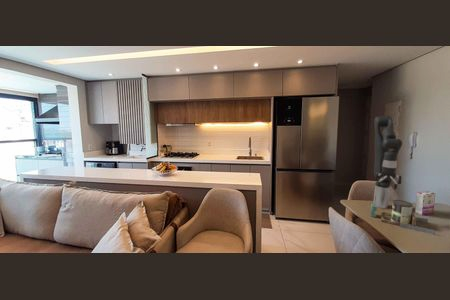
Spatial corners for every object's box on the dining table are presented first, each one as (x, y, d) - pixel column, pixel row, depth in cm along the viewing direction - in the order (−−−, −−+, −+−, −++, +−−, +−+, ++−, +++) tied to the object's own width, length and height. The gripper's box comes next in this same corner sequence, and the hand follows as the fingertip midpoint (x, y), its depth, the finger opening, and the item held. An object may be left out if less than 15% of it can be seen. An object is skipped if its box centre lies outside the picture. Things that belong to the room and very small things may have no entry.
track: (399, 226, 127) (400, 223, 127) (396, 216, 141) (396, 212, 141) (434, 234, 117) (435, 231, 117) (427, 222, 132) (427, 218, 132)
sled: (370, 219, 137) (371, 208, 136) (370, 211, 149) (371, 201, 148) (415, 228, 124) (416, 217, 123) (410, 219, 136) (411, 208, 135)
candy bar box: (425, 210, 149) (428, 190, 147) (433, 213, 144) (436, 193, 142) (414, 212, 147) (416, 192, 144) (422, 215, 142) (424, 194, 140)
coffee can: (390, 221, 134) (392, 202, 132) (391, 216, 141) (393, 198, 139) (410, 227, 126) (412, 207, 124) (410, 221, 133) (413, 202, 131)
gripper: (376, 166, 137) (374, 187, 140) (403, 168, 129) (400, 191, 131) (376, 164, 143) (374, 184, 146) (402, 166, 135) (399, 188, 137)
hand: (386, 187), depth 139 cm, fingers open, 8 cm apart
